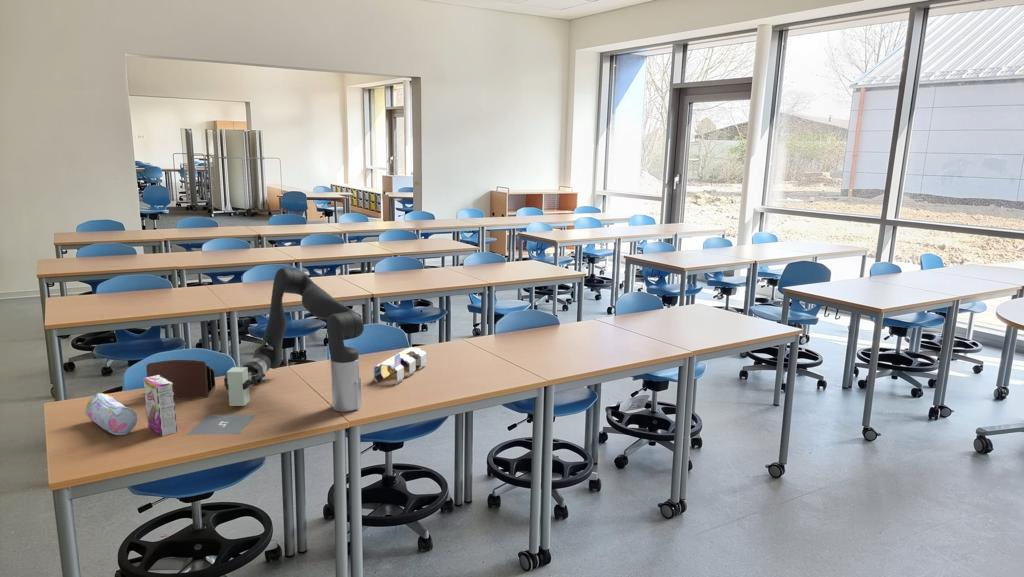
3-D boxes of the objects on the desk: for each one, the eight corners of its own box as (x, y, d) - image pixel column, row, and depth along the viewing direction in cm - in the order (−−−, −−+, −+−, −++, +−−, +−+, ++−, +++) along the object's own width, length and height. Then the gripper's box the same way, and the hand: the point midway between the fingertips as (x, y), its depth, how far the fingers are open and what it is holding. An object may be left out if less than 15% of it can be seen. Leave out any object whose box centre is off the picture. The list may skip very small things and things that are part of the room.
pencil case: (85, 422, 209) (82, 394, 207) (115, 415, 216) (112, 387, 214) (109, 441, 196) (105, 411, 194) (140, 432, 202) (137, 403, 200)
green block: (249, 400, 226) (247, 367, 223) (244, 405, 221) (242, 371, 218) (235, 400, 225) (232, 367, 223) (229, 405, 221) (226, 371, 218)
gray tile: (256, 415, 217) (256, 414, 217) (239, 434, 201) (239, 434, 201) (207, 415, 216) (207, 414, 216) (186, 435, 200) (186, 434, 200)
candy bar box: (147, 427, 206) (142, 377, 203) (163, 423, 209) (159, 374, 206) (161, 437, 199) (156, 386, 195) (178, 432, 202) (173, 382, 199)
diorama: (397, 385, 248) (397, 352, 246) (373, 382, 251) (372, 349, 249) (426, 367, 271) (426, 336, 269) (404, 364, 275) (403, 334, 272)
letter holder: (208, 397, 233) (205, 359, 230) (148, 400, 230) (144, 361, 227) (216, 388, 242) (213, 351, 240) (158, 390, 239) (155, 353, 237)
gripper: (232, 360, 235) (212, 376, 218) (272, 360, 235) (256, 376, 219) (233, 380, 236) (214, 397, 220) (273, 380, 237) (257, 397, 220)
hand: (235, 386), depth 219 cm, fingers closed on green block, 5 cm apart
